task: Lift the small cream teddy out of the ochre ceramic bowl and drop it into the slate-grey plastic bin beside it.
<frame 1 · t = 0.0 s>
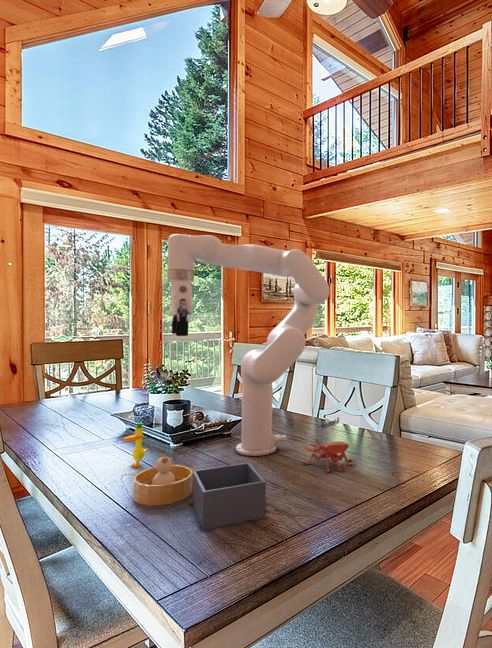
hand: (179, 334, 132), 37 cm above the table, tool pointing down, fingers open, 9 cm apart
toy figure: (135, 467, 126), on the table
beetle: (326, 463, 131), on the table
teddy: (163, 493, 107), point 1 cm above the table, touching bowl
bowl: (163, 495, 107), on the table
bin: (227, 510, 100), on the table
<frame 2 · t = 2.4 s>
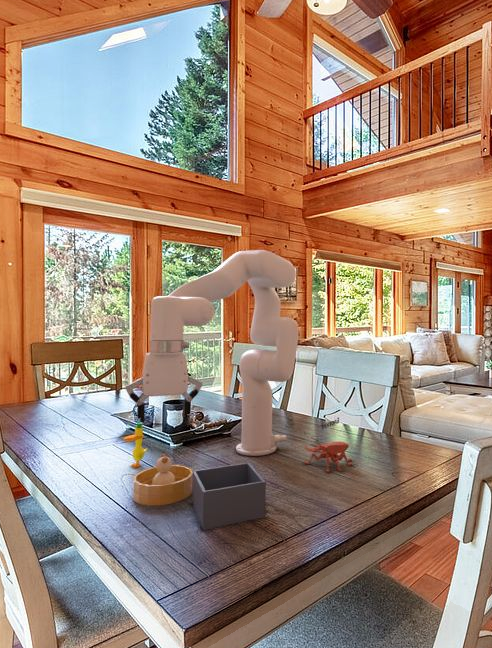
hand: (163, 419, 107), 18 cm above the table, tool pointing down, fingers open, 9 cm apart
nothing on the table moved.
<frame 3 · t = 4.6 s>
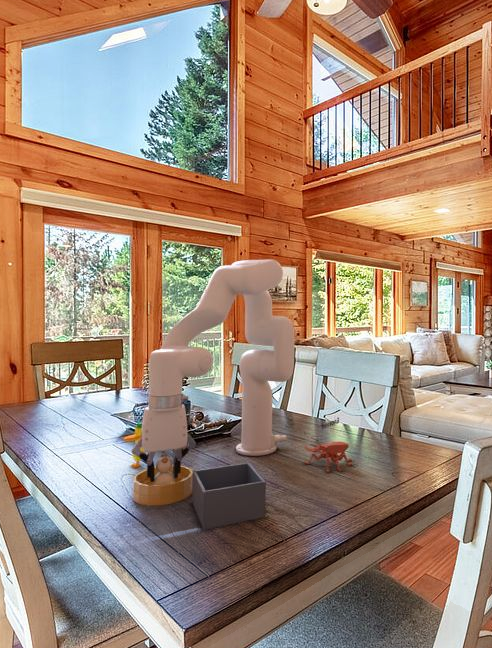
hand: (163, 477, 107), 4 cm above the table, tool pointing down, fingers closed on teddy, 4 cm apart
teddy: (163, 493, 107), point 1 cm above the table, touching bowl, gripper
everything else where it was.
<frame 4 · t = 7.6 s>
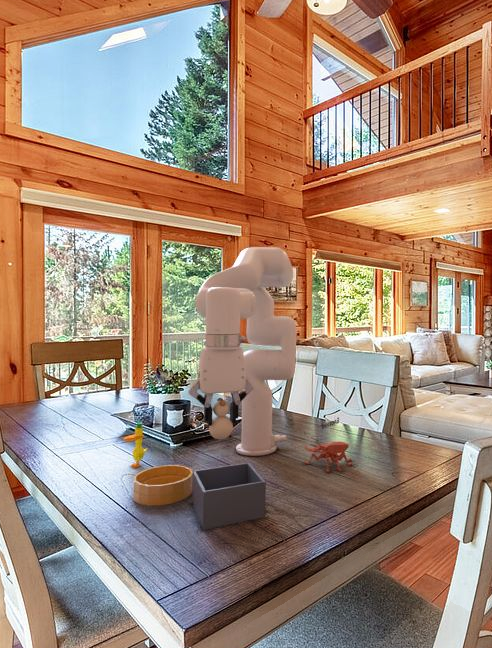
hand: (221, 422, 101), 19 cm above the table, tool pointing down, fingers closed on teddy, 4 cm apart
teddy: (220, 439, 101), point 16 cm above the table, touching gripper
everything else where it was.
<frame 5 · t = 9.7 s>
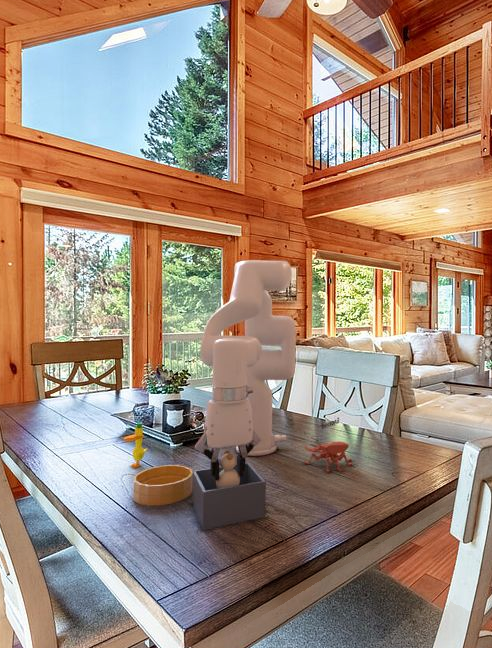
hand: (228, 475, 100), 8 cm above the table, tool pointing down, fingers closed on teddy, 4 cm apart
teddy: (227, 492, 99), point 4 cm above the table, touching gripper
everything else where it was.
when the fingers open (5 cm above the table, at t = 11.6 s): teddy stays where it is, resting on bin.
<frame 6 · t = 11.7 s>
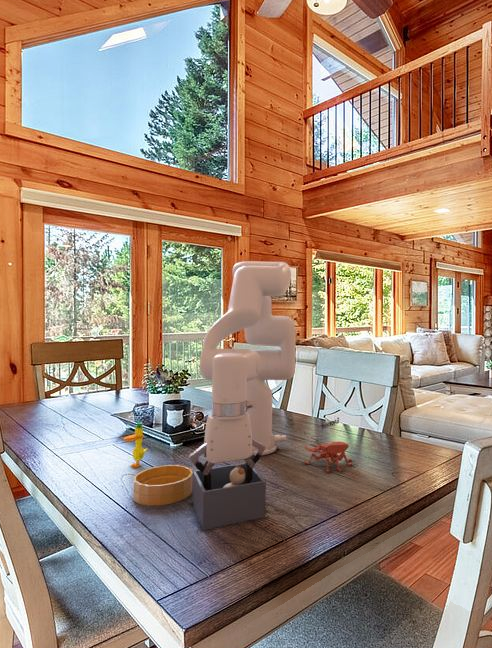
hand: (227, 487, 100), 5 cm above the table, tool pointing down, fingers open, 8 cm apart
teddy: (227, 507, 99), point 1 cm above the table, tilted 19°, touching bin
everything else where it was.
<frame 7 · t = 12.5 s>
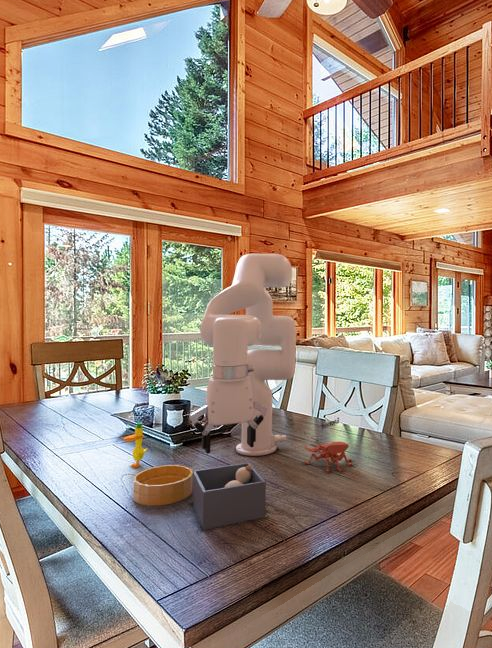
hand: (229, 448, 100), 13 cm above the table, tool pointing down, fingers open, 9 cm apart
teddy: (228, 503, 100), point 1 cm above the table, tilted 46°, touching bin
everything else where it was.
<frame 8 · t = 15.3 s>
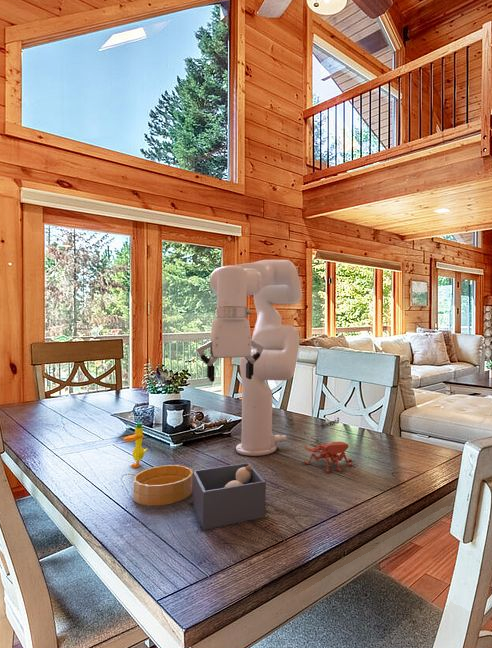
hand: (230, 379, 116), 26 cm above the table, tool pointing down, fingers open, 9 cm apart
nothing on the table moved.
at the end: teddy inside the target area in the bin (0.1 cm from its centre), point 1.4 cm above the bin's base; the gripper is holding nothing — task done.
